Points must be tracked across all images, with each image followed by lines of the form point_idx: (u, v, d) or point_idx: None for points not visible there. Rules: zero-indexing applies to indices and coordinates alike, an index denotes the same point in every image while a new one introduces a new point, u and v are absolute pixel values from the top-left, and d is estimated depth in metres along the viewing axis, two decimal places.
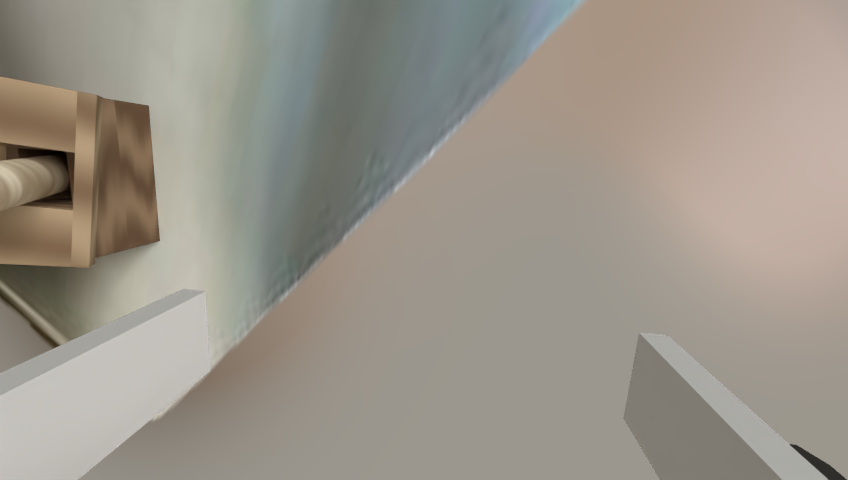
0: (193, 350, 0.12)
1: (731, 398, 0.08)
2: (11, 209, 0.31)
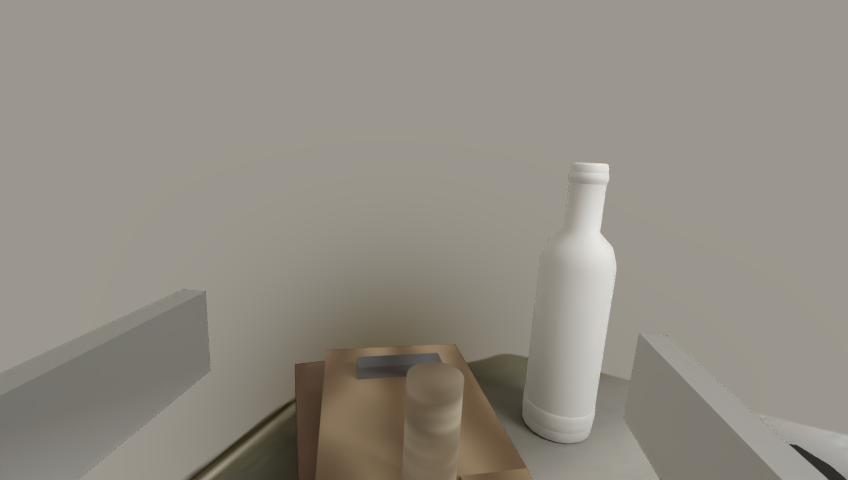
0: (193, 350, 0.12)
1: (731, 398, 0.08)
2: None
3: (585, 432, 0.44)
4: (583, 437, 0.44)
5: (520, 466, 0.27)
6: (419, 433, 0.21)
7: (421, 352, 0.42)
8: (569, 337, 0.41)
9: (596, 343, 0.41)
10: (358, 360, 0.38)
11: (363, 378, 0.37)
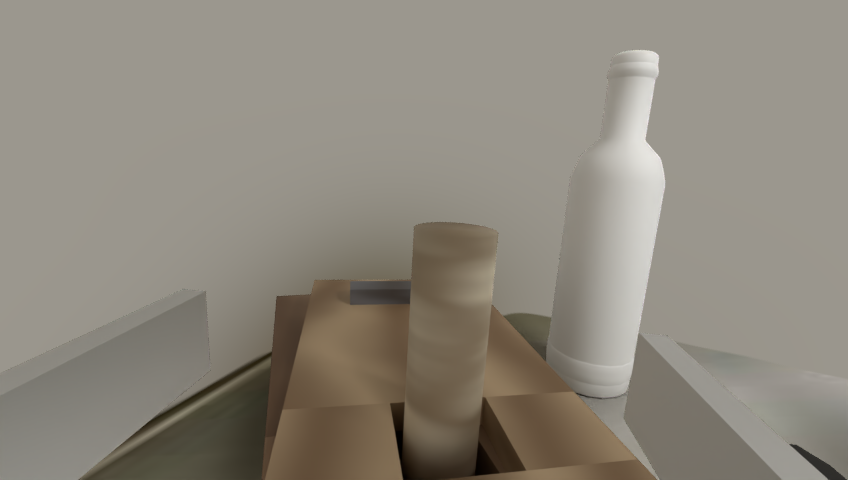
0: (193, 350, 0.12)
1: (731, 398, 0.08)
2: (383, 416, 0.17)
3: (623, 385, 0.37)
4: (621, 391, 0.37)
5: (564, 389, 0.20)
6: (432, 305, 0.14)
7: None
8: (608, 266, 0.34)
9: (640, 274, 0.34)
10: (351, 284, 0.31)
11: (357, 303, 0.30)
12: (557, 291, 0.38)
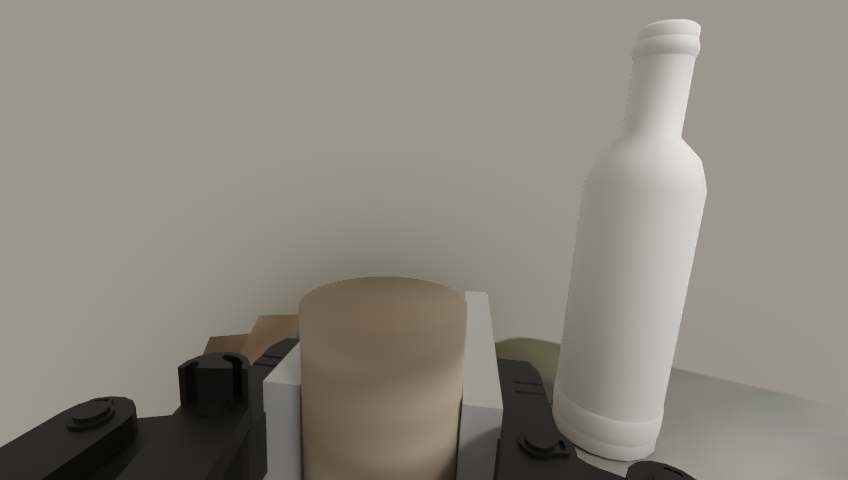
0: None
1: (487, 329, 0.11)
2: None
3: (651, 443, 0.29)
4: (648, 452, 0.29)
5: None
6: (331, 469, 0.07)
7: None
8: (634, 297, 0.26)
9: (675, 307, 0.27)
10: None
11: None
12: (567, 325, 0.31)
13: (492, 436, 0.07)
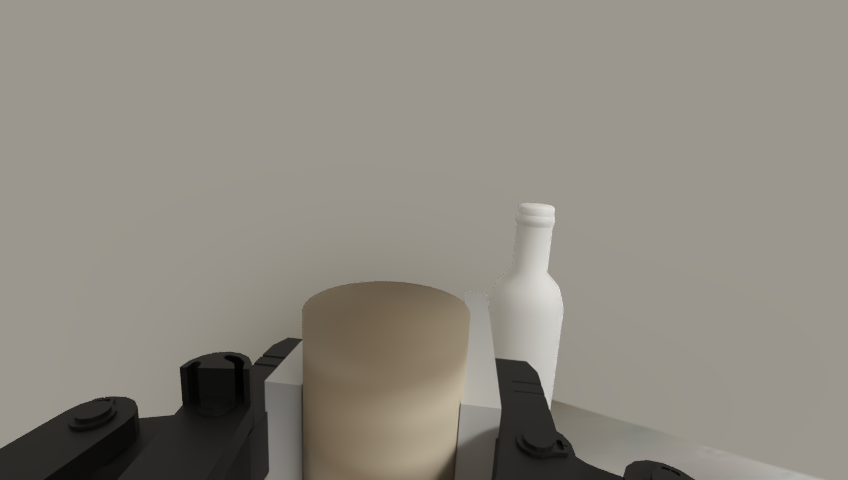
0: None
1: (485, 328, 0.11)
2: None
3: None
4: None
5: None
6: (331, 475, 0.07)
7: None
8: None
9: (542, 385, 0.41)
10: None
11: None
12: None
13: (490, 436, 0.08)
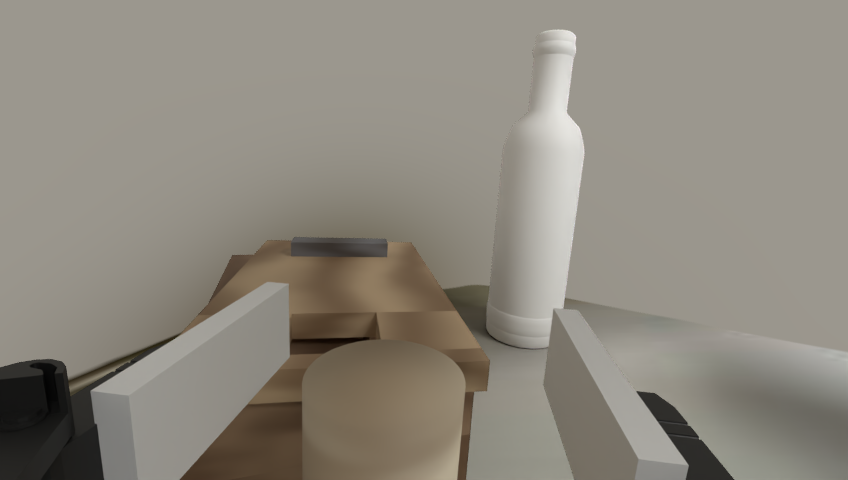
0: (279, 337, 0.13)
1: (604, 355, 0.10)
2: None
3: None
4: None
5: (449, 309, 0.24)
6: None
7: None
8: (532, 226, 0.37)
9: (562, 233, 0.38)
10: (294, 239, 0.34)
11: (297, 255, 0.33)
12: (493, 253, 0.42)
13: None
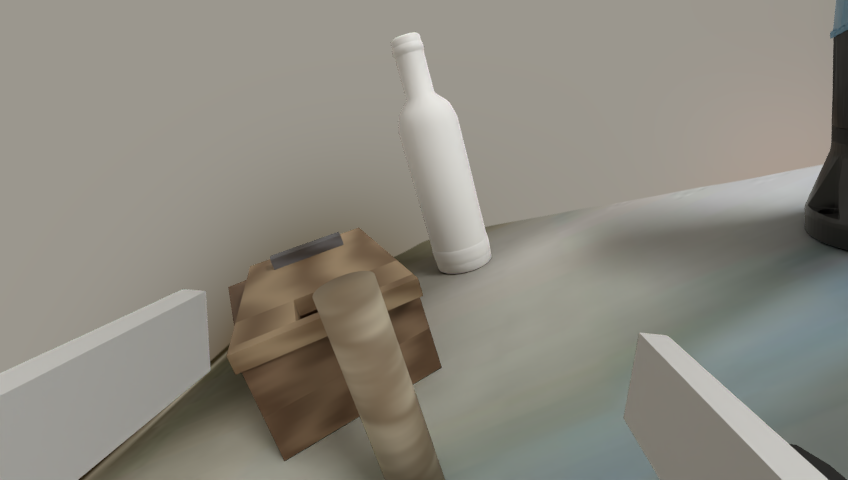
0: (193, 350, 0.12)
1: (731, 398, 0.08)
2: (289, 305, 0.32)
3: (484, 256, 0.53)
4: (484, 261, 0.53)
5: (392, 261, 0.35)
6: (345, 348, 0.19)
7: None
8: (439, 183, 0.49)
9: (462, 181, 0.50)
10: (271, 257, 0.45)
11: (279, 267, 0.44)
12: (422, 212, 0.54)
13: None
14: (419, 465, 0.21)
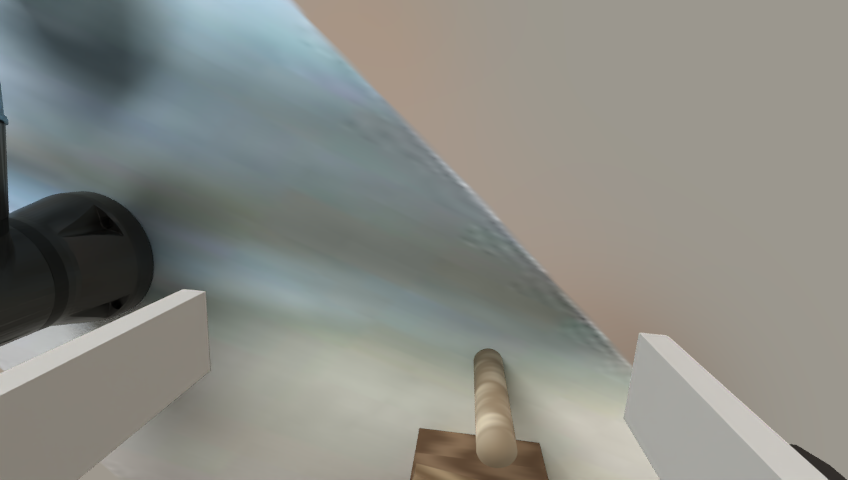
0: (193, 350, 0.12)
1: (731, 398, 0.08)
2: None
3: None
4: None
5: None
6: (509, 418, 0.33)
7: None
8: None
9: None
10: None
11: None
12: None
13: None
14: (489, 364, 0.41)
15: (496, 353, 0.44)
